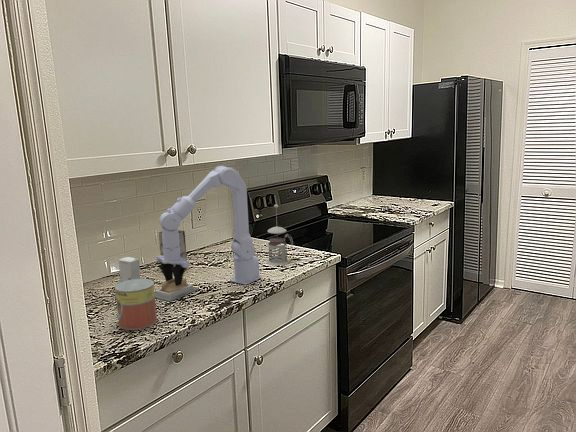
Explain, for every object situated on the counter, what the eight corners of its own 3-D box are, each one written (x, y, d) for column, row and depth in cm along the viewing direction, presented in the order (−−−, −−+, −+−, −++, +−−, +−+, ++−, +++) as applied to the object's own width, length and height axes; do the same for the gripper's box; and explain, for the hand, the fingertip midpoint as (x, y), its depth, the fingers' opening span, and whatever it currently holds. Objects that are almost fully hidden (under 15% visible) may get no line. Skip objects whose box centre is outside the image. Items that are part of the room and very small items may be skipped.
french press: (271, 257, 207) (269, 201, 202) (296, 259, 203) (295, 202, 198) (262, 264, 198) (260, 205, 193) (288, 266, 194) (287, 207, 189)
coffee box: (188, 268, 195) (185, 230, 192) (178, 272, 189) (175, 234, 186) (171, 265, 199) (168, 228, 196) (160, 270, 194) (157, 232, 190)
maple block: (162, 293, 165) (161, 282, 164) (179, 287, 171) (178, 276, 171) (170, 296, 163) (169, 284, 162) (187, 289, 169) (186, 278, 168)
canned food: (115, 319, 146) (111, 282, 143) (151, 311, 151) (148, 276, 149) (122, 333, 136) (118, 294, 134) (161, 324, 142) (158, 286, 139)
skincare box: (120, 291, 169) (117, 259, 167) (129, 288, 173) (126, 256, 171) (132, 294, 166) (129, 261, 164) (142, 290, 170) (139, 258, 168)
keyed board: (179, 284, 176) (179, 279, 175) (199, 289, 170) (198, 284, 170) (149, 296, 164) (149, 291, 164) (169, 302, 159) (168, 296, 158)
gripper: (148, 246, 165) (151, 283, 167) (177, 252, 156) (179, 290, 159) (164, 242, 170) (166, 277, 173) (192, 247, 162) (194, 284, 165)
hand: (174, 283), depth 166 cm, fingers closed on maple block, 4 cm apart
